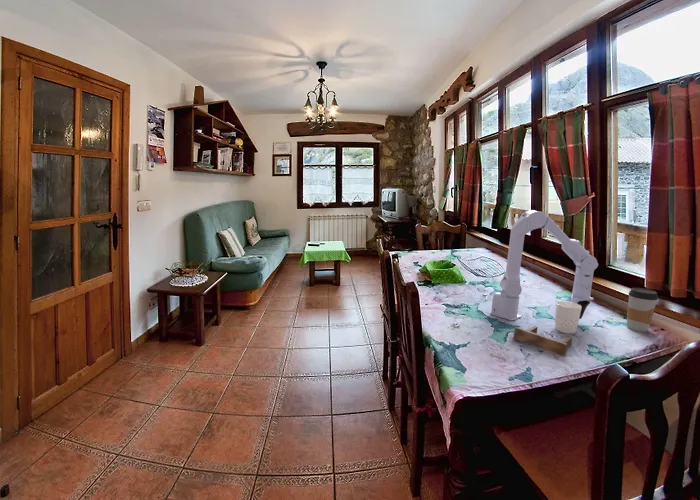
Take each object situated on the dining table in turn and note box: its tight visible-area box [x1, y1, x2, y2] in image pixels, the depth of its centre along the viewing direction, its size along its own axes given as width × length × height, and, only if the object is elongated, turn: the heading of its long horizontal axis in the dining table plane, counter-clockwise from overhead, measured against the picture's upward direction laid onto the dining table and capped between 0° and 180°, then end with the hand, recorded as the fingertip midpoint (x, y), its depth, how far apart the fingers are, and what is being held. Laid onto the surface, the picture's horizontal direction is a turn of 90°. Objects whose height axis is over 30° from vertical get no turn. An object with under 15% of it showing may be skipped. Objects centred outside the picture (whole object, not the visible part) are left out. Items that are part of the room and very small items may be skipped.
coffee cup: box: [626, 287, 659, 333], centre depth 126 cm, size 8×8×15 cm
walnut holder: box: [513, 325, 573, 357], centre depth 114 cm, size 16×11×4 cm
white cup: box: [554, 300, 582, 335], centre depth 124 cm, size 8×8×10 cm
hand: (577, 318), depth 132 cm, fingers closed
